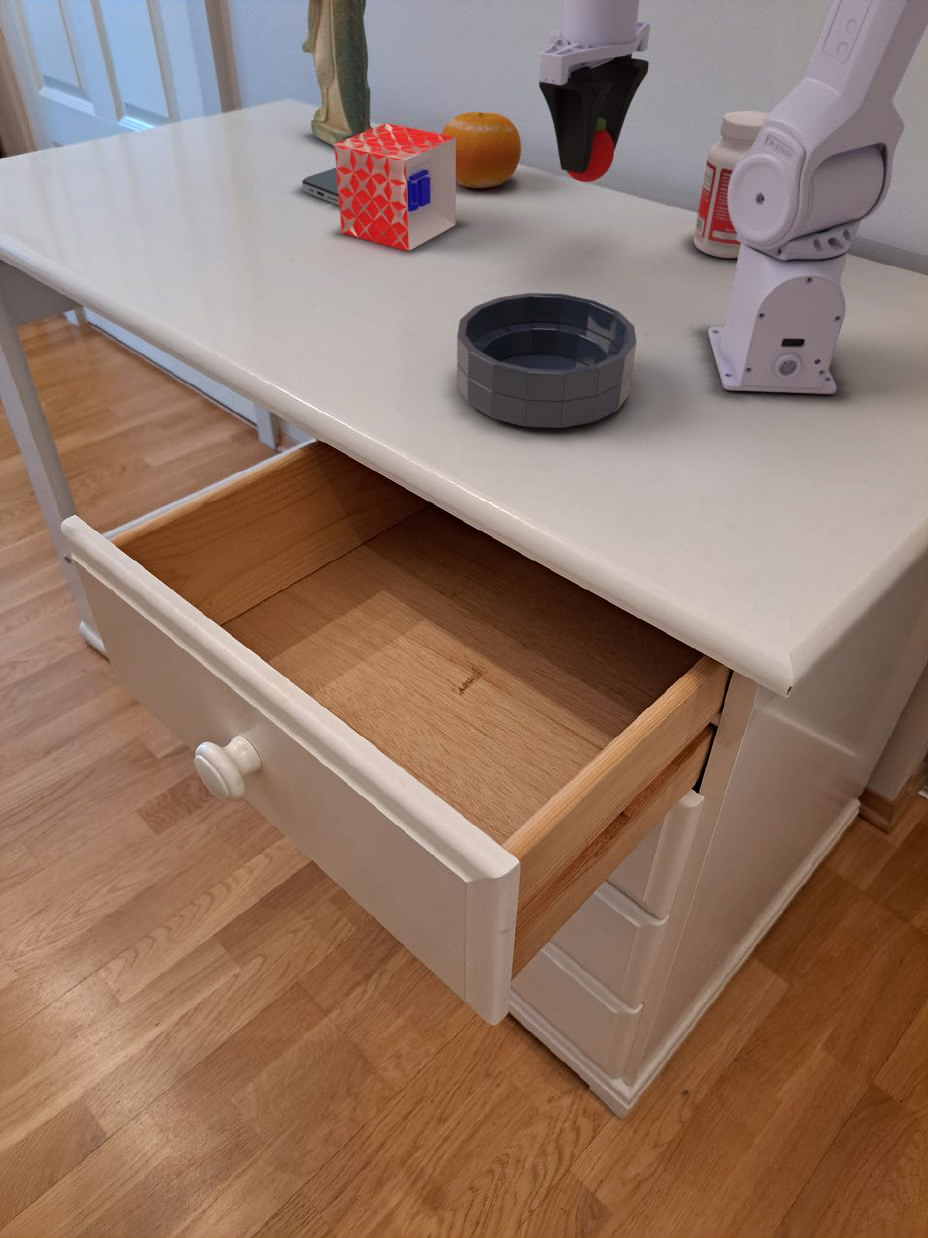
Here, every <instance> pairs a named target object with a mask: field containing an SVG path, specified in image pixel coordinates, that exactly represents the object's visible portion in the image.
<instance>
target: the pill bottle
mask: <svg viewBox="0 0 928 1238" xmlns="http://www.w3.org/2000/svg"><path fill="white" fill-rule="evenodd" d="M768 114H769V113H768V112H762V111H753V110H735V111H730V112H727V113H725V114H724V115H723V117H722V121H721V126H720V136H721V139H720V140H718V141H716V142H715V143H714V144H713V145H712V146H711V147H710V148H709V150H708V153H707V157H706V164H705V170H704V176H703V182H702V188H701V194H700V201H699V204H698V211H697V218H696V223H695V229H694V234H693V235H694V236H693V244H694V246H695V247H696V248H697V250H698V251H700V252H702V253H704V254H707V255H709V256H712V257H715V258H720V259H738V255H739V251H740V246H741V242H738V241H737V240H736V237H737V232H736V230H735V228H734V226H733V224H732V221H731V219H730V215H729V210H728V200H727V195H728V186H729V181H730V178H731V175H732V172H733V170H734V168H735V166H736V164H737V163H738V161H739V160H740V159H741V157H742V156H743V155H744V154H745V153H746V152H747V151H748V150H749V149H750V148H751V147H752V145H753V144H754V142H755V141H756V139H757V137H758V135H759V132H760V130H761V127H762V125H763V122H764V119H765V118H766V117H767V115H768Z"/></svg>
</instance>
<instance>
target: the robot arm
mask: <svg viewBox="0 0 928 1238" xmlns="http://www.w3.org/2000/svg"><path fill="white" fill-rule="evenodd" d="M639 6H640V0H563V10H562V11H563V12H562V26H561V28H559V29H556V30H553V31H550V32H549V33H548V35H549V36H548V42H549V43H550V44H551V46H550V47H549V48H547V49H545V50H544V51H540V53H539V69H538V88H539V89H540V91H541V94H542V95H543V97H544V99H545V102H546V104H547V107H548V110H549V112H550V113H549V114H550V116H551V120H552V123H553V128H554V134H555V139H556V145H557V151H558V159H559V164H560V169H561V170H562V171H566V172H567V171H571V172H576V173H580V174H581V173H584V172H586V170H587V167H588V164H589V161H590V157H591V152H592V146H593V140H594V135H595V130H596V126H597V122H598V118H599V117H600V118H603V119H605V120H606V128H605V130H606V131H607V132H608V133H609V135H610V137H611V138H612V141H613V145H614V152H615V150H616V147H617V145H618V142H619V138H620V136H621V132H622V128H623V126H624V123H625V120H626V117H627V114H628V112H629V109H630V106H631V104H632V102H633V100H634V98H635V95H636V93H637V92H638V89H639V87H640V86H641V84H642V82H644V80H645V78H646V76H647V74H648V72H649V66H650V63H649V61H648V60H646V59H640V58H634V57H633V54H634V53H635V52H637V53H643V52H645V51H647V50H648V46H649V38H650V29H651V23H650V22H644V21H638V17H639V9H640V7H639ZM927 27H928V0H833V3H832V5H831V8H830V10H829V13H828V15H827V18H826V21H825V24H824V26H823V29H822V31H821V33H820V36H819V39H818V42H817V44H816V47H815V49H814V51H813V54H812V56H811V60H810V62H809V65H808V67H807V69H806V72H805V75H804V77H803V79H802V80H801V81H800V82H799V83H798V84H797V85H796V86H795V87H794V89H792V90H791V92H789V93H788V94H787V95H786V96H784V98H783V99H782V100H781V101H780V102H779V103H778V104H777V105H776V106H775V107H774V108H772V110H771V111H770V112H769V113H768V115H767V117H766V118H765V119H764V122H763V125H762V127H761V130H760V132H759V135H758V137H757V139H756V141H755V142H754V144H753V145H752V147H751V148H750V149H749V150H748V151H747V152H746V153H745V154H744V155H743V156H742V157H741V159H740V160H739V161H738V163H737V164H736V166H735V168H734V170H733V172H732V175H731V178H730V181H729V186H728V195H727V200H728V210H729V215H730V219H731V221H732V224H733V226H734V228H735V230H736V232H737V237H736V240H737V241H738V242H741V246H740V251H739V255H738V258H737V261H736V265H735V270H734V275H733V279H732V284H731V289H730V294H729V298H728V304H727V309H726V313H725V317H724V318H725V319H724V323H723V326H717V325H716V326H710V327H709V328H708V331H707V334H708V335H707V336H708V338H709V342H710V345H711V348H712V352H713V356H714V359H715V363H716V367H717V370H718V374H719V377H720V381H721V384H722V387H723V388H724V389H725V390H727V391H739V392H741V391H742V392H763V393H764V392H765V393H767V392H768V393H769V392H770V393H793V394H819V395H832V394H835V393H836V392H837V388H838V387H837V384H836V382H835V380H834V378H833V376H832V374H831V371H830V366H831V363H832V359H833V356H834V353H835V351H836V346H837V342H838V339H839V336H840V333H841V329H842V326H843V322H844V320H845V316H846V299H845V298H846V297H845V295H844V292H843V289H842V288H843V287H842V286H841V285H842V283H841V280H842V279H841V278H842V275H843V272H844V269H845V265H846V261H847V257H848V254H849V250H850V247H851V245H852V240H854V239H857V235H858V231H859V228H860V224H861V222H862V221H864V220H866V219H868V218H869V217H870V216H871V215H873V214H874V213H876V211H877V210H878V209H879V208H880V207H881V205H882V204H883V203H884V201H885V199H886V197H887V195H888V192H889V189H890V186H891V182H892V177H893V161H894V155H895V152H896V148H897V145H898V144H899V141H900V139H901V137H902V135H903V133H904V131H905V123H904V121H903V118H902V117H901V115H900V114H899V112H898V109H897V108H896V106H895V105H894V102H893V100H894V97H895V95H896V93H897V91H898V89H899V86H900V85H901V83H902V80H903V78H904V76H905V74H906V72H907V70H908V67H909V65H910V64H911V61H912V59H913V56H914V54H915V53H916V50H917V48H918V46H919V44H920V41H921V40H922V37H923V36H924V33H925V31H926V29H927Z"/></svg>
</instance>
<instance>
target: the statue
mask: <svg viewBox="0 0 928 1238" xmlns="http://www.w3.org/2000/svg"><path fill="white" fill-rule="evenodd" d="M366 7H367V0H308V7H307V19H306V20H307V36H306V39H305V41H304V42H303V43H302V44H301V45H302V52H304V53H308V54H311V55H312V59H313V65H314V69H315V75H316V76H315V77H316V80H317V84H318V87H319V91H320V98H321V107H320V108H318V109H316V110H315V112H314V113H313V119H312V120H311V122H310V126H311V130H312V134H313V136H314V137H316V138H317V139H318V140H320V141H322V142H324V143H326V144H328V145H330V146H332V147H333V148H335V146H334V144H336V143H338V142H341V141H343V140H346V139H349V138H351V137H354V136H356V135H359V134H361V133H363V132H366V131H368V130H371V129H373V127H372V126H371V121H370V120H371V88H370V86H369V82H368V72H369V71H368V70H369V51H368V50H369V49H368V43H367V34H366V29H365V18H364V17H365V12H366Z"/></svg>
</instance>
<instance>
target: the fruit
mask: <svg viewBox="0 0 928 1238" xmlns="http://www.w3.org/2000/svg"><path fill="white" fill-rule="evenodd" d="M441 134H442V135H447V136H452V137H456V184H458V185H460V186H462V187H465V188H469V189H470V188H472V189H486V188H493V187H497V186H500V185H501V184H504V183H506V182H507V181H508V180H509V179H510V178H511V176H512V175H513V174H514V173H515V171H516V170H517V168H518V165H519V162H520V159H521V155H522V142H521V138H520V137H521V136H520V134H519V130H518V128H517V127H516V126H515V124H514V123H513V121H512V120H511V119H509V118H508V117H506V116H504V115H502V114H499V113H495V112H482V111H481V112H480V111H467V112H465V113H461V114H459V115H457V116H454V117H453V118H451V119H450V120H449V121H448V122H447V123H446V125H445V126H444V128H443V130H442V132H441Z"/></svg>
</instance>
